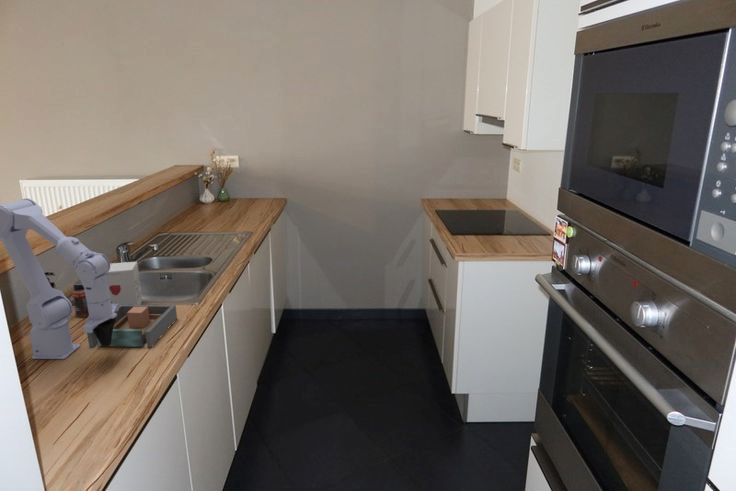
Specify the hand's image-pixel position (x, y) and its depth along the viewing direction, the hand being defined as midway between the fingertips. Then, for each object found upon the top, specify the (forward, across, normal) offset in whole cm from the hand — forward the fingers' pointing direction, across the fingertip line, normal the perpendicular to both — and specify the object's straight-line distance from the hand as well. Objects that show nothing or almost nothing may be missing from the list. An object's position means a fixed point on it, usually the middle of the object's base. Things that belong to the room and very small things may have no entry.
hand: (106, 344), depth 145 cm
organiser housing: (+4, +16, 0) cm, 17 cm away
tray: (+4, +15, 0) cm, 16 cm away
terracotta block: (+3, +19, 0) cm, 19 cm away
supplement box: (+5, +35, +12) cm, 37 cm away
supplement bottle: (+5, +29, +23) cm, 37 cm away
